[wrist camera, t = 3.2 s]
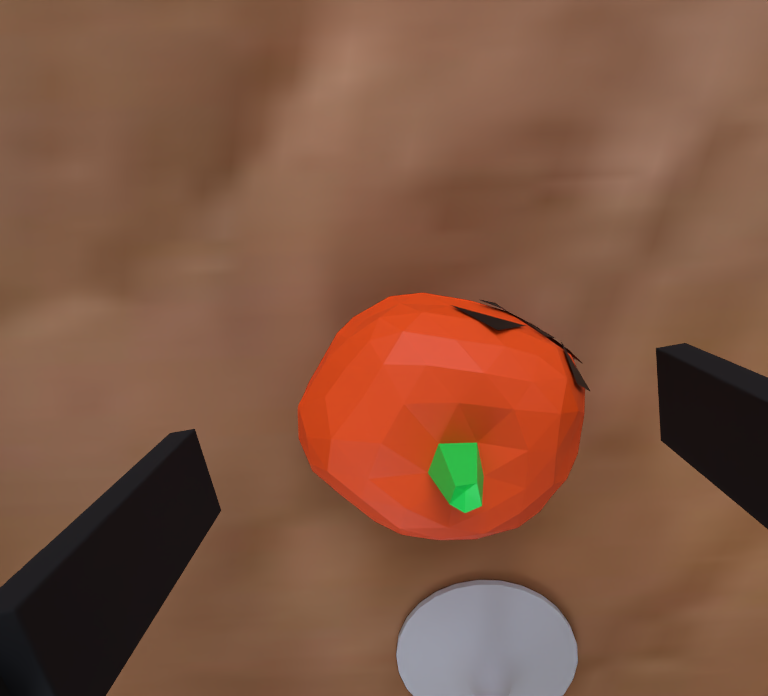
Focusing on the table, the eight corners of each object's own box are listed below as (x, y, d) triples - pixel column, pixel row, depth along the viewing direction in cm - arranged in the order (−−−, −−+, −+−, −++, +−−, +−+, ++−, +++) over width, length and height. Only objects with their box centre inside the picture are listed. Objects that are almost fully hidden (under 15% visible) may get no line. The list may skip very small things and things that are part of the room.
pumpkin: (316, 278, 15) (254, 319, 9) (564, 290, 15) (676, 342, 9) (315, 473, 17) (262, 617, 11) (535, 488, 17) (609, 644, 11)
